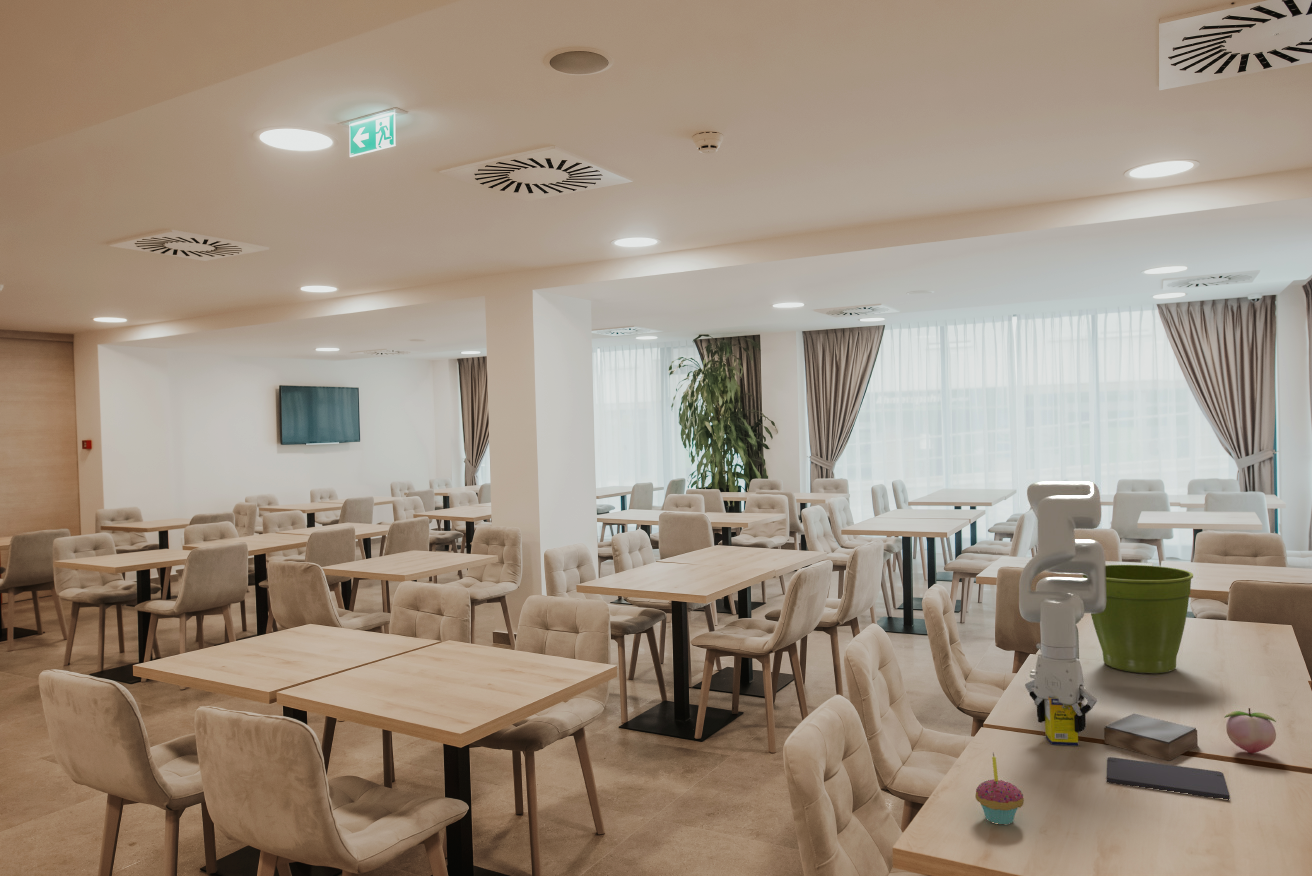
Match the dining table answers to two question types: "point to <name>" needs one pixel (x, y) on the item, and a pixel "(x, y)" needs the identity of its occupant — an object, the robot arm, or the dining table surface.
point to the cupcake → (999, 798)
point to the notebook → (1167, 777)
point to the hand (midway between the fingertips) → (1061, 725)
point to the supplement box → (1060, 723)
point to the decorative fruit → (1250, 730)
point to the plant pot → (1143, 617)
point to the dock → (1151, 736)
